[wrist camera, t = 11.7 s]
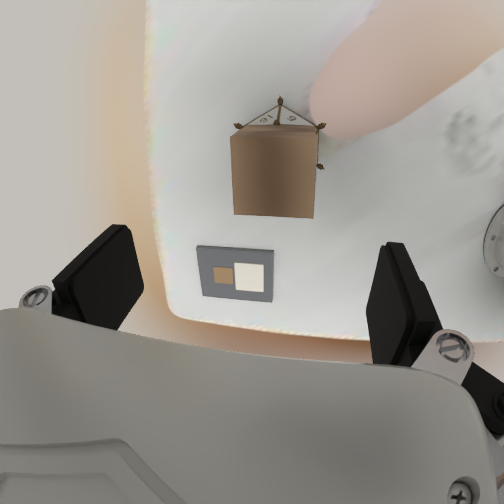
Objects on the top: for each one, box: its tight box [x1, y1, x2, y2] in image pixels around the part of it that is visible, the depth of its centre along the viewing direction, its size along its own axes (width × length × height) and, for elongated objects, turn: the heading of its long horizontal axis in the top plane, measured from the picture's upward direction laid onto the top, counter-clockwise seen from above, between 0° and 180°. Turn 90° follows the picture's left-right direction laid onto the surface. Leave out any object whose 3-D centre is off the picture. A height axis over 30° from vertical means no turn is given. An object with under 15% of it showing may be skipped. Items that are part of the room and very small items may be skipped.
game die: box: [234, 96, 326, 170], centre depth 28 cm, size 9×8×10 cm
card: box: [196, 246, 274, 302], centre depth 41 cm, size 10×8×1 cm
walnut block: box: [230, 125, 317, 219], centre depth 22 cm, size 6×6×6 cm
